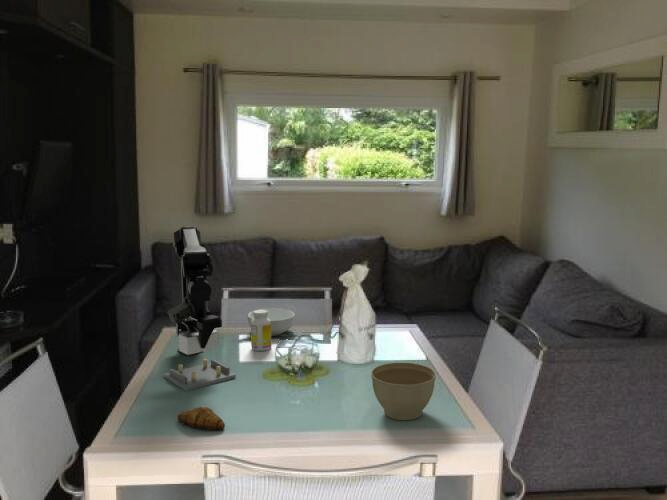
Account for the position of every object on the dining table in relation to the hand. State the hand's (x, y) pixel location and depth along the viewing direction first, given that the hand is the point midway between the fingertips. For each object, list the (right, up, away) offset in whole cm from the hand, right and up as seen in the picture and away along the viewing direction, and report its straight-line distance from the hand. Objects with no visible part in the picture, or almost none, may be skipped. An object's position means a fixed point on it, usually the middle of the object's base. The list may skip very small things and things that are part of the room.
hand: (198, 345), depth 191 cm
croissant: (+7, -15, -31) cm, 35 cm away
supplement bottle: (+15, -5, +29) cm, 33 cm away
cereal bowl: (+17, -2, +47) cm, 50 cm away
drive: (0, -1, 0) cm, 1 cm away
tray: (0, -9, +1) cm, 10 cm away
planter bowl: (+57, -14, -24) cm, 63 cm away
